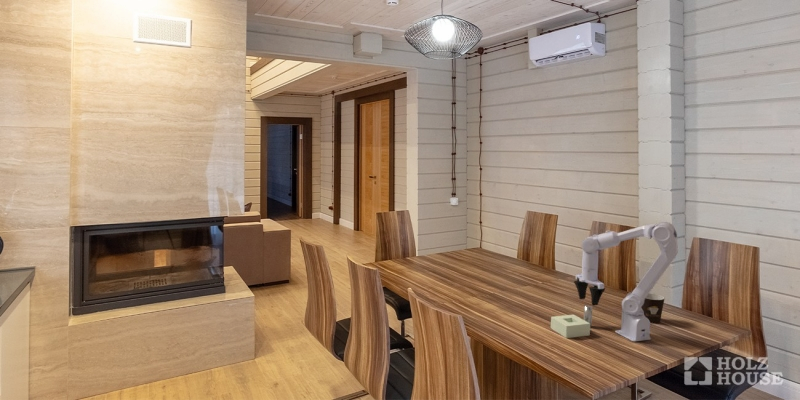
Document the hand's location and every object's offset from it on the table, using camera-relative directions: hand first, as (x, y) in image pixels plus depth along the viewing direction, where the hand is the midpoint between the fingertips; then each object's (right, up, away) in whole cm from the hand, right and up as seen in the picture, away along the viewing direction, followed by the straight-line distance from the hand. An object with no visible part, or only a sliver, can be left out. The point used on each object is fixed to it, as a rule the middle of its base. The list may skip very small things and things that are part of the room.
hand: (588, 301), depth 179 cm
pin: (0, -10, +1) cm, 10 cm away
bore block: (-9, -10, -4) cm, 14 cm away
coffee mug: (+27, -9, +8) cm, 30 cm away
